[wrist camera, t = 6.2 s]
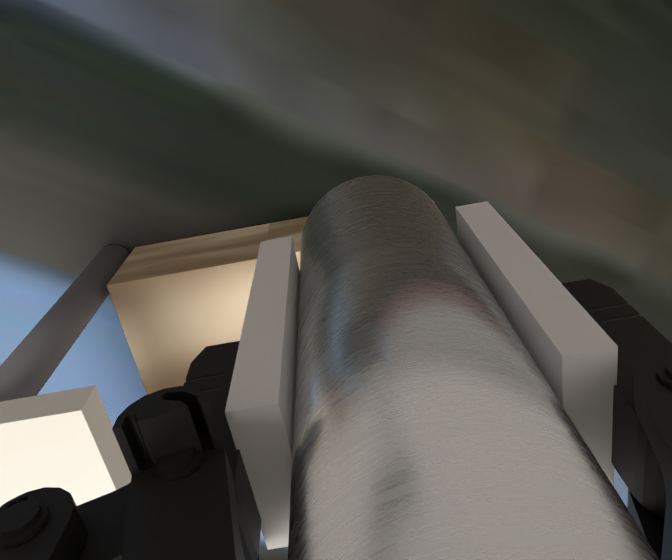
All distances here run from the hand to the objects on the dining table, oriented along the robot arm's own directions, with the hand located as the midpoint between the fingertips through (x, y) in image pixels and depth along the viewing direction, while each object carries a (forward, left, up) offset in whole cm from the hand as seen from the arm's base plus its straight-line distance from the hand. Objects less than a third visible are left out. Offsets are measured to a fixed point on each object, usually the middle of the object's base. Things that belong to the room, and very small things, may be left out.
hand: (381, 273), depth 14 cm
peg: (0, 0, -2) cm, 2 cm away
